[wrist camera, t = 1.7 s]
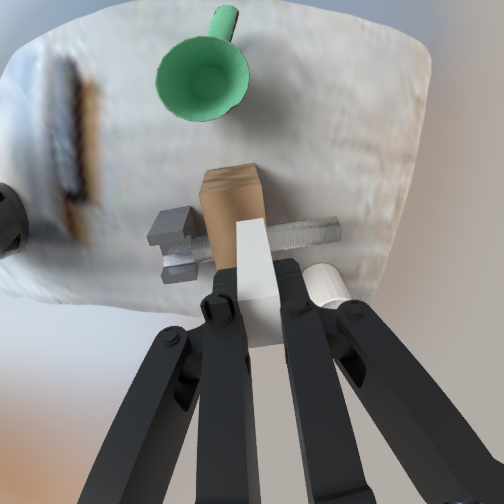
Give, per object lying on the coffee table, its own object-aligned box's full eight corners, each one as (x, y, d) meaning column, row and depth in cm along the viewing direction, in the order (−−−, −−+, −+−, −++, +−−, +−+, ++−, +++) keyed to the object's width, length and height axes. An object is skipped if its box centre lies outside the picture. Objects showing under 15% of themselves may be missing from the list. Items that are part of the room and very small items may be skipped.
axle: (198, 254, 41) (196, 268, 38) (192, 232, 39) (189, 245, 36) (332, 234, 41) (340, 246, 38) (332, 212, 39) (341, 223, 36)
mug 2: (283, 256, 48) (295, 293, 40) (344, 265, 50) (364, 300, 42) (272, 292, 52) (279, 331, 44) (329, 298, 54) (344, 334, 46)
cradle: (172, 254, 46) (164, 284, 39) (159, 211, 42) (146, 236, 35) (201, 250, 46) (196, 279, 39) (190, 205, 42) (182, 230, 35)
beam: (227, 271, 49) (227, 312, 40) (206, 170, 39) (199, 194, 30) (267, 265, 49) (275, 305, 40) (254, 163, 39) (261, 184, 30)
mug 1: (233, 123, 36) (234, 131, 27) (166, 108, 34) (146, 113, 25) (264, 30, 29) (274, 11, 20) (194, 16, 27) (183, -7, 18)
